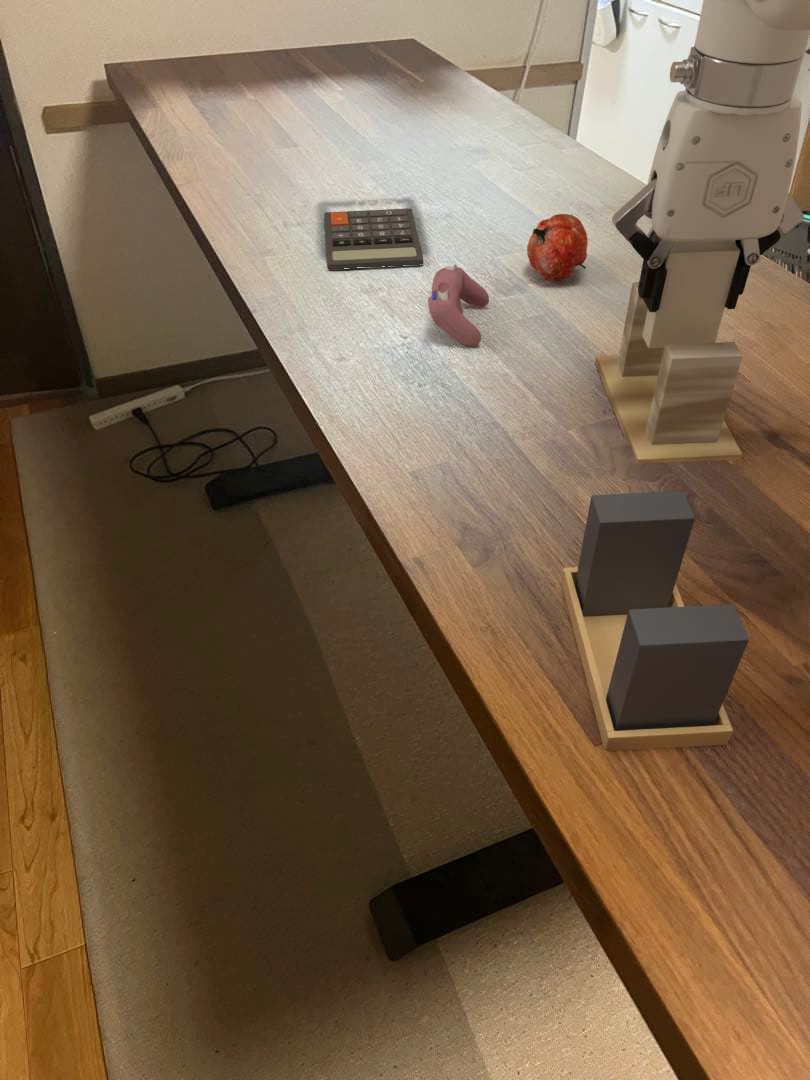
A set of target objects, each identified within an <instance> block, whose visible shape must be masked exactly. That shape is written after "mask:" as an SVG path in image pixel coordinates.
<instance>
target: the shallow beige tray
mask: <svg viewBox="0 0 810 1080" xmlns="http://www.w3.org/2000/svg"><path fill="white" fill-rule="evenodd" d="M577 571H578V566H573V567H563V569H562V574H561V578H560V579H561V580H560V583H561V587H562V591H563V595H564V599H565V602H566V606H567V610H568V614H569V618H570V622H571V625H572V626H571V627H572V631H573V633H574V638H575V642H576V645H577V648H578V653H579V657H580V660H581V664H582V669H583V672H584V677H585V681H586V684H587V688H588V692H589V695H590V699H591V704H592V707H593V712H594V715H595V718H596V722H597V726H598V730H599V734H600V739H601V742H602V745H603V750H604V751H606V752H615V751H616V752H618V751H633V750H634V751H635V750H636V751H637V750H652V749H653V750H654V749H671V748H686V747H687V748H688V747H703V746H705V747H707V746H724V745H725V746H726V745H728V743H729V742H730V739H731V736H732V734H733V732H734V729H733V727H732V725H731V721H730V719H729V716H728V714H727V711H726V709H725V706H724V703H723V704H722V706H721V708H720V711H719V713H718V716H717V718H716V720H715V723H714V725H713V726H696V727H678V728H661V729H643V730H625V731H614V728H613V724H612V720H611V717H610V713H609V709H608V706H607V702H606V696H607V692H608V689H609V685H610V681H611V677H612V673H613V669H614V665H615V661H616V657H617V654H618V650H619V646H620V642H621V638H622V634H623V630H624V626H625V622H626V618H627V615H628V614H623V615H604V616H584V617H583V614H582V611H581V607H580V603H579V600H578V596H577V592H576V589H575V581H576V576H577ZM668 607H686V606H685V604H684V601H683V599H682V596H681V593H680V591H679V588H678V586H677V582H676V583H675V586H674V590H673V593H672V596H671V599H670V603H669V606H668Z"/></svg>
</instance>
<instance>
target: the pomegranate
mask: <svg viewBox="0 0 810 1080" xmlns="http://www.w3.org/2000/svg"><path fill="white" fill-rule="evenodd" d="M588 243H589V241H588V234H587V231H586V229H585V227H584V224H583V223H582V221H581V220H580V218H578V217H576V216H574V215H573V214H568V213H559V214H554V215H552V216H551V217H550V218H546V219H542V220H540V221H539V222H538V224H537V226H536V227H535V228H533V230H532V233H531V235H530V236H529V239H528V243H527V246H526V254H527V258H528V261H529V264H530V266H531V267H532V268H533V270H535V271H537V272H539V275H540V276H541V277H543V279H545V280H547V281H549V282H559V283H561V282H563V281H565V280H567V279H570V278H571V277H572V276H573V275H574V273H575V271H574V268H575V267H579V266H580V267H581V268H583V269H585V270H586V269H587V266H585V265H584V263H585V261H586V259H587V257H588V254H587V253H588V251H587V250H588Z"/></svg>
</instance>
